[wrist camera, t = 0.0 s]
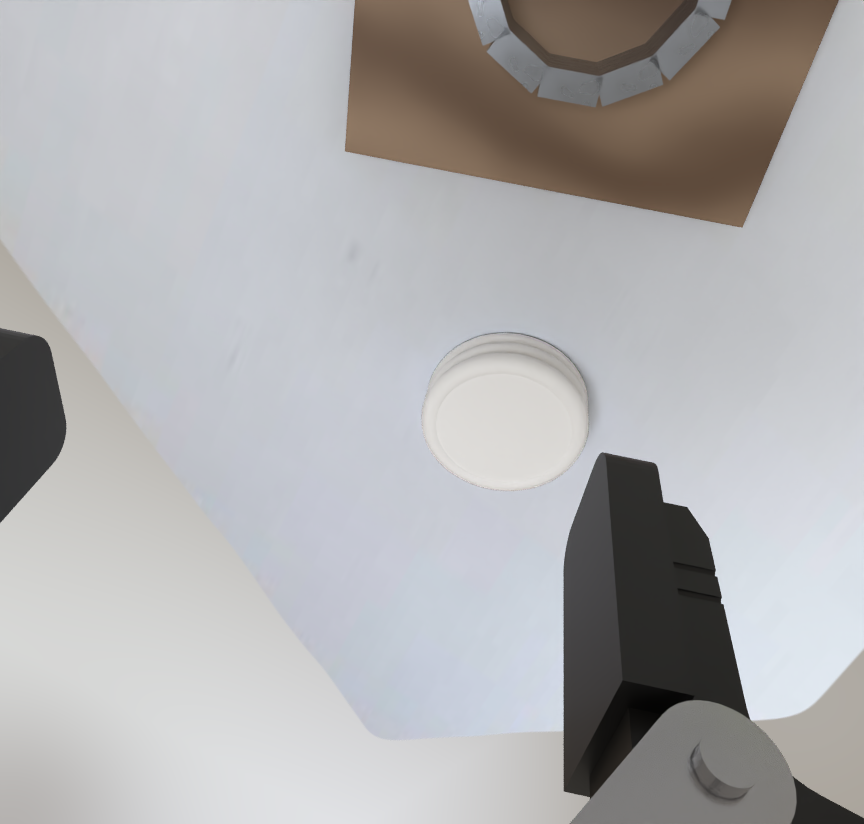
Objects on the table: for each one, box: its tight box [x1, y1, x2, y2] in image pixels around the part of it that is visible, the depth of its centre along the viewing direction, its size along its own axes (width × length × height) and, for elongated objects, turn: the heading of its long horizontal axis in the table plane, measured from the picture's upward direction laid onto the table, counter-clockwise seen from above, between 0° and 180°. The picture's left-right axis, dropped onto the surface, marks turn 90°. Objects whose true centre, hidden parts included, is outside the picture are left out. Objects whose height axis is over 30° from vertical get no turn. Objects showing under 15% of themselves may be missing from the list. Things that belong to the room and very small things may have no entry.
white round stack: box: [421, 333, 589, 491], centre depth 44 cm, size 10×10×4 cm
